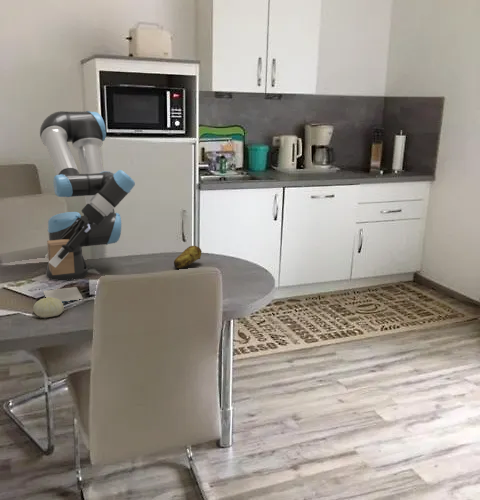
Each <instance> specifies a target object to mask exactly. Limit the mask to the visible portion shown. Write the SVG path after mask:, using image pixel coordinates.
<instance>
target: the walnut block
mask: <svg viewBox="0 0 480 500" xmlns="http://www.w3.org/2000/svg"><path fill="white" fill-rule="evenodd" d="M68 241H69V239H60V240H49V239H48V240H47V241H46V244H47V253H48V258H49V259H48V258H47V259H48V262H49V261H50V260H51V259H52V258H53V257H54V256H55V255H56V253H57V252H58V251H59V250H60V249H61V248H62V245H64V246H65V245H66V244H67V242H68ZM49 270H50V271H51V273H52V275H60V274H68V273H75V271H74V256H73V252H70V253H68V255H67V256H66V257H65V258H64V259H63V260H62V261H61V262H60V263H59V264H58V266H57V267H56V268H55V267H54V266H52V265H51V264H50V263H49Z"/></svg>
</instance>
